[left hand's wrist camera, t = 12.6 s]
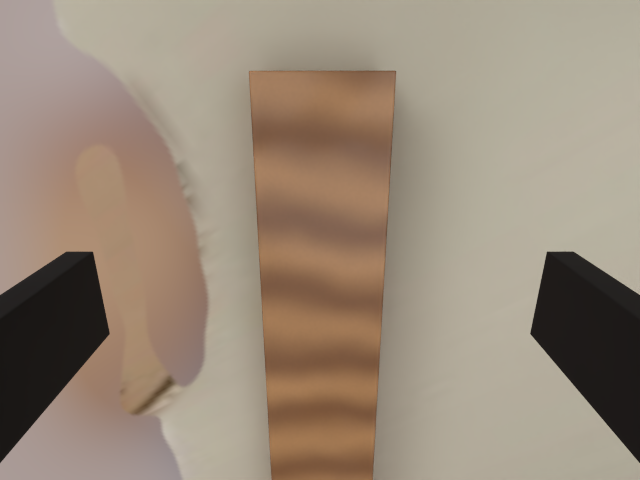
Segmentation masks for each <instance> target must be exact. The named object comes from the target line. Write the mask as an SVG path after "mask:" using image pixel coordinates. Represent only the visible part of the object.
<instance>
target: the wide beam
mask: <svg viewBox="0 0 640 480" xmlns="http://www.w3.org/2000/svg"><path fill="white" fill-rule="evenodd" d="M249 80H250V98H251V116H252V134H253V152H254V170H255V188H256V206H257V224H258V242H259V260H260V278H261V296H262V314H263V332H264V350H265V368H266V386H267V404H268V422H269V440H270V458H271V476H272V480H372V479H373V462H374V444H375V427H376V410H377V392H378V375H379V358H380V340H381V323H382V306H383V288H384V271H385V254H386V236H387V219H388V202H389V184H390V167H391V150H392V132H393V115H394V98H395V80H396V71H249Z"/></svg>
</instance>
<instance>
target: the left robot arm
mask: <svg viewBox="0 0 640 480" xmlns="http://www.w3.org/2000/svg"><path fill="white" fill-rule="evenodd" d="M530 334H531V335H532V336H533V337H534V339H535V340H536V341H537V342H538V343H539V345H540V346H541V347H542V348H543V349H544V350H545V352H546V353H547V354H548V355H549V356H550V358H551V359H552V360H553V361H554V362H555V363H556V365H557V366H558V367H559V368H560V369H561V371H562V372H563V373H564V374H565V375H566V376H567V378H568V379H569V380H570V381H571V382H572V383H573V385H574V386H575V387H576V388H577V389H578V391H579V392H580V393H581V394H582V395H583V396H584V398H585V399H586V400H587V401H588V402H589V404H590V405H591V406H592V407H593V408H594V409H595V411H596V412H597V413H598V414H599V415H600V417H601V418H602V419H603V420H604V421H605V422H606V424H607V425H608V426H609V427H610V428H611V430H612V431H613V432H614V433H615V434H616V435H617V437H618V438H619V439H620V440H621V441H622V442H623V444H624V445H625V446H626V447H627V448H628V450H629V451H630V452H631V453H632V454H633V455H634V457H635V458H636V459H637V460H638V461H639V463H640V295H639V294H637V293H636V292H634V291H633V290H631V289H630V288H628V287H627V286H625V285H624V284H622V283H620V282H619V281H617V280H616V279H614V278H613V277H611V276H610V275H608V274H607V273H605V272H604V271H602V270H601V269H599V268H598V267H596V266H595V265H593V264H591V263H590V262H588V261H587V260H585V259H584V258H582V257H581V256H579V255H578V254H576V253H575V252H547V255H546V260H545V264H544V269H543V274H542V279H541V284H540V289H539V294H538V299H537V304H536V309H535V313H534V318H533V323H532V328H531V333H530ZM108 335H109V328H108V323H107V318H106V313H105V309H104V304H103V299H102V294H101V289H100V284H99V279H98V274H97V269H96V264H95V260H94V255H93V252H65V253H64V254H62V255H61V256H59V257H58V258H56V259H55V260H53V261H52V262H50V263H49V264H47V265H45V266H44V267H42V268H41V269H40V270H38V271H36V272H35V273H33V274H32V275H30V276H29V277H27V278H26V279H24V280H23V281H21V282H20V283H18V284H16V285H15V286H14V287H12V288H10V289H9V290H7V291H6V292H4V293H3V294H1V295H0V463H1V461H2V460H3V459H4V458H5V457H6V455H7V454H8V453H9V452H10V451H11V450H12V448H13V447H14V446H15V445H16V444H17V442H18V441H19V440H20V439H21V438H22V437H23V435H24V434H25V433H26V432H27V431H28V430H29V428H30V427H31V426H32V425H33V424H34V422H35V421H36V420H37V419H38V418H39V417H40V415H41V414H42V413H43V412H44V411H45V409H46V408H47V407H48V406H49V405H50V403H51V402H52V401H53V400H54V399H55V398H56V396H57V395H58V394H59V393H60V392H61V391H62V389H63V388H64V387H65V386H66V385H67V383H68V382H69V381H70V380H71V379H72V378H73V376H74V375H75V374H76V373H77V372H78V371H79V369H80V368H81V367H82V366H83V365H84V363H85V362H86V361H87V360H88V359H89V358H90V356H91V355H92V354H93V353H94V352H95V350H96V349H97V348H98V347H99V346H100V345H101V343H102V342H103V341H104V340H105V339H106V337H107V336H108Z"/></svg>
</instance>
